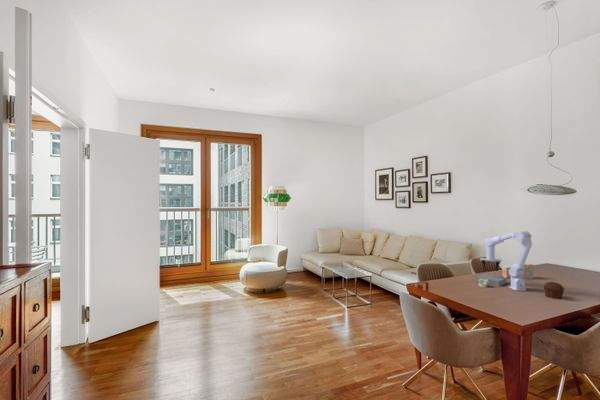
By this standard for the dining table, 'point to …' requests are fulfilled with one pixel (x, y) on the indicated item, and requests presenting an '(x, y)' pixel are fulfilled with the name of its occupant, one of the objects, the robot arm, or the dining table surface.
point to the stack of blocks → (527, 271)
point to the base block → (493, 279)
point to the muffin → (553, 290)
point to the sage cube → (483, 282)
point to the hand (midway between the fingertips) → (490, 270)
